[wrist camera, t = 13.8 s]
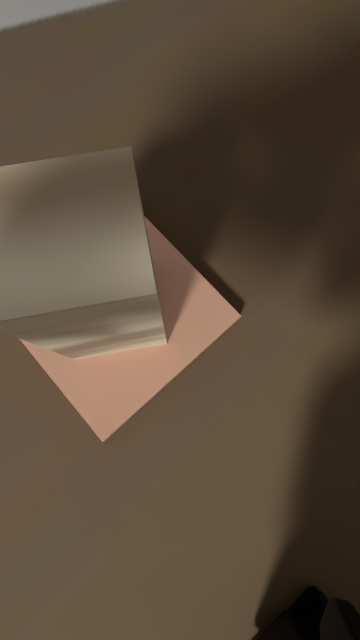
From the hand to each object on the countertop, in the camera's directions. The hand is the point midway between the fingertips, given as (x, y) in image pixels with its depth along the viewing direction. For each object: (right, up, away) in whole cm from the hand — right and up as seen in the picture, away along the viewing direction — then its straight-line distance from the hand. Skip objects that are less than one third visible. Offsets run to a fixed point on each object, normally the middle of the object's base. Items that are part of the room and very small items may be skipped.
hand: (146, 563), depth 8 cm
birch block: (-3, +7, +13) cm, 15 cm away
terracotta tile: (-3, +6, +14) cm, 15 cm away
